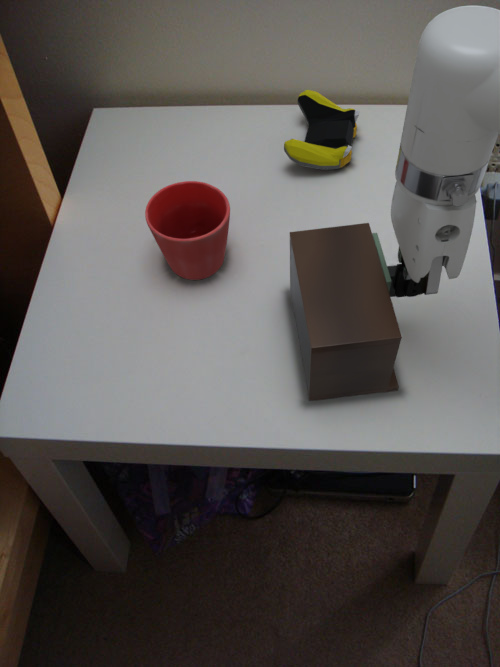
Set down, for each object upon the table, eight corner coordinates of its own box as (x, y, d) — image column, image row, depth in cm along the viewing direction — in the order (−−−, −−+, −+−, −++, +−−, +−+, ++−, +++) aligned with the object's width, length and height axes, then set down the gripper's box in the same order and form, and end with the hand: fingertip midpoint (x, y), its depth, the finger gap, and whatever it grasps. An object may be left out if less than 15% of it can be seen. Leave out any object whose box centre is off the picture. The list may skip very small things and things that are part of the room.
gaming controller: (281, 176, 92) (346, 183, 90) (281, 147, 87) (349, 154, 85) (299, 114, 100) (359, 119, 98) (299, 84, 95) (363, 90, 93)
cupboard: (369, 284, 79) (380, 221, 69) (397, 390, 71) (415, 335, 61) (290, 293, 79) (289, 231, 69) (308, 401, 71) (311, 348, 61)
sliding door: (399, 278, 78) (411, 228, 70) (413, 324, 74) (427, 277, 66) (364, 282, 78) (372, 232, 70) (376, 329, 74) (386, 282, 66)
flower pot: (201, 218, 88) (191, 167, 80) (251, 259, 83) (246, 209, 75) (143, 258, 84) (127, 208, 76) (192, 302, 80) (181, 255, 72)
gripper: (513, 219, 48) (460, 341, 63) (458, 104, 56) (423, 237, 72) (421, 231, 48) (390, 350, 63) (379, 114, 56) (360, 245, 71)
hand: (407, 290), depth 67 cm, fingers closed
